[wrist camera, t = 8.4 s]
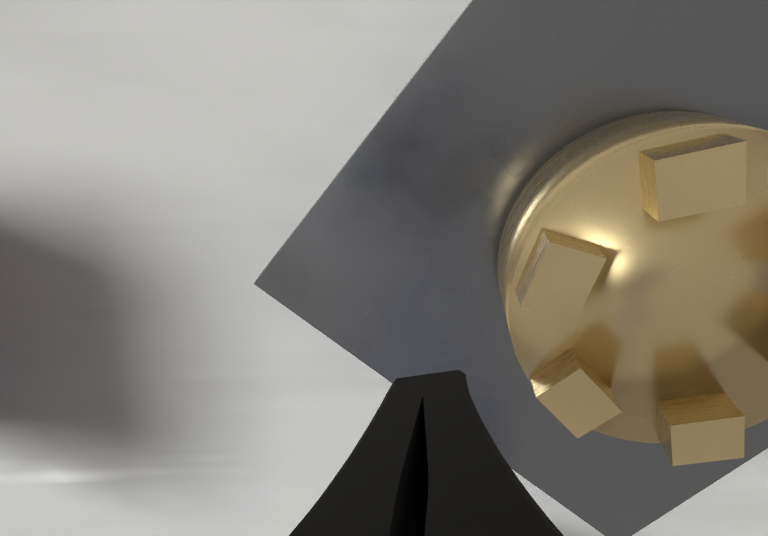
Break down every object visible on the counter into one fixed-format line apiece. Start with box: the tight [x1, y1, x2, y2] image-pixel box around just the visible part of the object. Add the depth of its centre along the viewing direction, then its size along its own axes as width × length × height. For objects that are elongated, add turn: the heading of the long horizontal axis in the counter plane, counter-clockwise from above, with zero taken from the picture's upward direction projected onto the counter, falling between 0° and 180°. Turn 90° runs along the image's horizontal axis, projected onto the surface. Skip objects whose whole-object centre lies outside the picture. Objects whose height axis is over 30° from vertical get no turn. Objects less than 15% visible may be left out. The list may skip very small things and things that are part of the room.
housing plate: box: [254, 0, 768, 536], centre depth 17 cm, size 18×18×2 cm
